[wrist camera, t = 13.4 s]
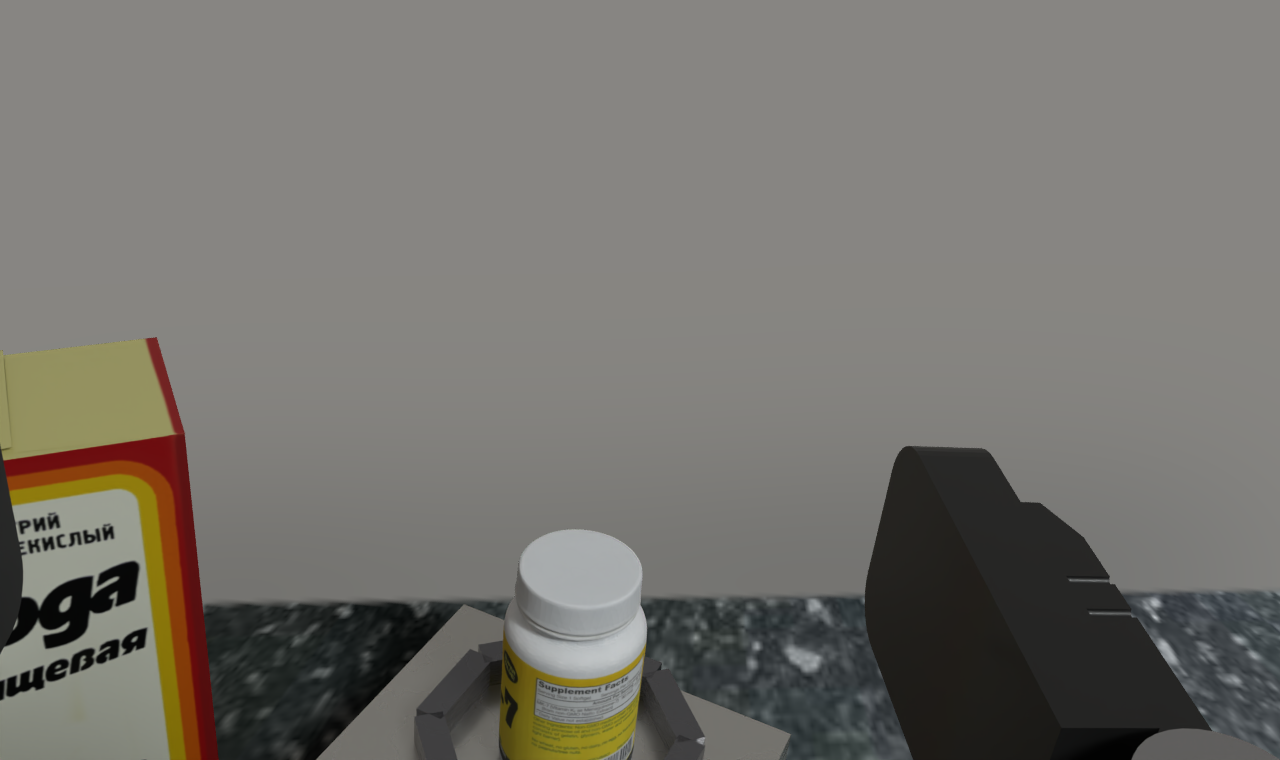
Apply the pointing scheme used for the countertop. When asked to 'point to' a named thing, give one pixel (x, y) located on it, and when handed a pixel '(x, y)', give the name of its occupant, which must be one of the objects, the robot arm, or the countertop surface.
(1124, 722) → the robot arm
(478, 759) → the octagon ring base plate
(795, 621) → the countertop surface
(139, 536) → the baking soda box
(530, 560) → the supplement bottle
